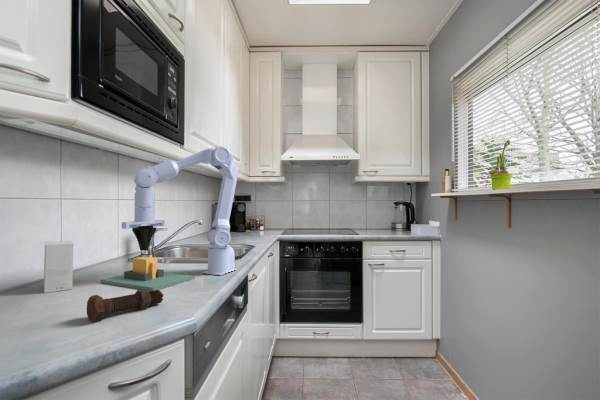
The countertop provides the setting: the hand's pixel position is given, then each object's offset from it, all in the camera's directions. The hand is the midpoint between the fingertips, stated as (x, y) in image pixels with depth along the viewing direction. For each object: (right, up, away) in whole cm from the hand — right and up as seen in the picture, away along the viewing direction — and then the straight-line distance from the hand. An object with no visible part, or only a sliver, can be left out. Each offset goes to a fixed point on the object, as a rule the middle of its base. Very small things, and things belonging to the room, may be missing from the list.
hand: (144, 250), depth 101 cm
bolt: (+11, -10, -30) cm, 33 cm away
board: (+2, -9, -2) cm, 10 cm away
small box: (-19, -9, -11) cm, 24 cm away
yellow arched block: (+1, -8, -1) cm, 8 cm away
